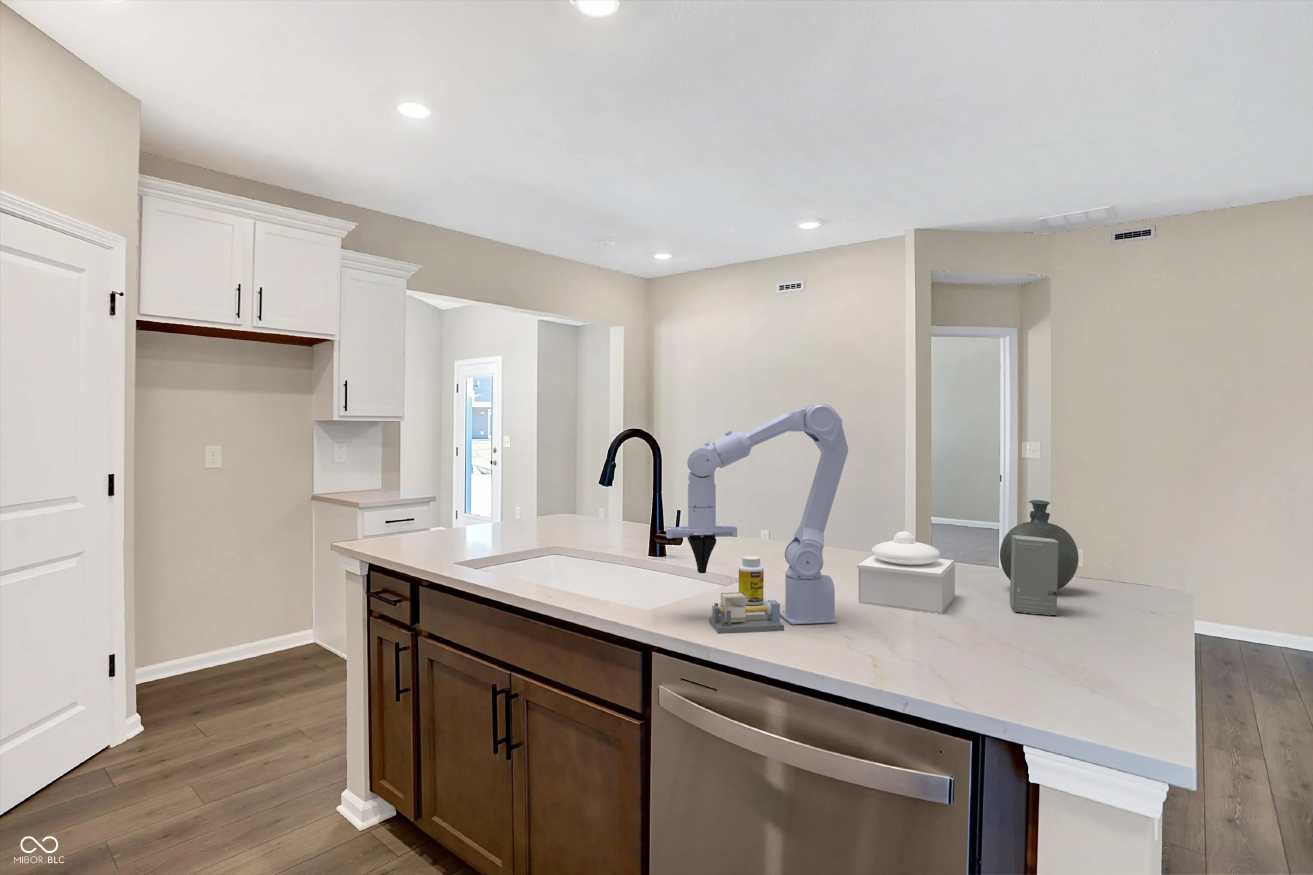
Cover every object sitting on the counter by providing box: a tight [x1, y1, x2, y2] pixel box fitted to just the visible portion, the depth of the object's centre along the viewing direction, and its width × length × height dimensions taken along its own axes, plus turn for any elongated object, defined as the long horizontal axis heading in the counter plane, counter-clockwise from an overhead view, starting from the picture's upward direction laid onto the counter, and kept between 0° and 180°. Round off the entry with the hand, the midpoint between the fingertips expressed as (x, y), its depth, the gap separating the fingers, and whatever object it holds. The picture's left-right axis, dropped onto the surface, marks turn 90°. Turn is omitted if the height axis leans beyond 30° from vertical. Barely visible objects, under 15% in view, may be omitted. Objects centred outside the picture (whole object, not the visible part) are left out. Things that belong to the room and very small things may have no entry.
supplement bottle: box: [738, 555, 765, 606], centre depth 147 cm, size 6×6×10 cm
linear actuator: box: [708, 599, 785, 634], centre depth 129 cm, size 13×8×4 cm, turn 98°
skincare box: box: [1009, 535, 1059, 616], centre depth 140 cm, size 8×7×16 cm
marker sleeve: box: [720, 591, 746, 622], centre depth 129 cm, size 4×4×5 cm
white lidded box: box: [856, 530, 956, 615], centre depth 149 cm, size 18×18×16 cm
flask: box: [999, 499, 1079, 591], centre depth 156 cm, size 12×17×22 cm
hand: (701, 572), depth 135 cm, fingers closed
